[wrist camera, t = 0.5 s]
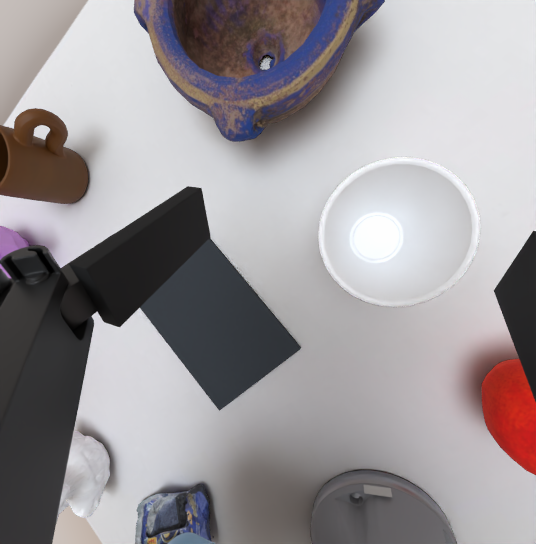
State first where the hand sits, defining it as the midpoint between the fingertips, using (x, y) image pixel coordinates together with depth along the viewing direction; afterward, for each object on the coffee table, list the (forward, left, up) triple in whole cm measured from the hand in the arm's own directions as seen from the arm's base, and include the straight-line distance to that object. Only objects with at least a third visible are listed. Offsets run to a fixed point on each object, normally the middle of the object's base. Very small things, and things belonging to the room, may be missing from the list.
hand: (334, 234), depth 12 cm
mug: (-3, +37, -19) cm, 41 cm away
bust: (-43, +22, -19) cm, 51 cm away
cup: (+1, -3, -19) cm, 19 cm away
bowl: (+15, +14, -19) cm, 28 cm away
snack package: (-43, +7, -19) cm, 47 cm away
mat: (-15, +12, -19) cm, 26 cm away
